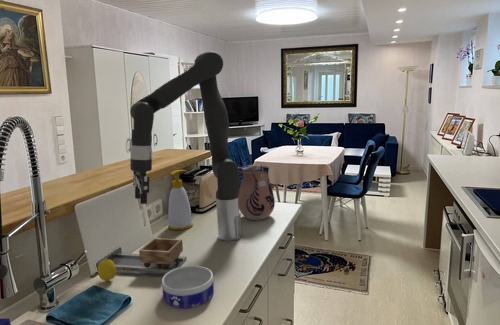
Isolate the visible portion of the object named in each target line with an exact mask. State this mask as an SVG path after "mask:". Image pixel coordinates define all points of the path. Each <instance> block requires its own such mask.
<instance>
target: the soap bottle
mask: <svg viewBox="0 0 500 325" xmlns="http://www.w3.org/2000/svg"><path fill="white" fill-rule="evenodd" d="M183 172H186V173H190V171H189V170H186V169H177V170H172V171H171V172H170V175H172V176H174V180H172V181H171V182H172V187H171V190H170V192H169V197H168V198H169V199H168V208H167V209H168V211H167V212H168V226H167V227H168V228H169V229H170V230H172V231H173V230H174V231H181V230H187V229H190V228H191V227H193V225H194V223H193V218H192V216H193V215H192V211H191V204H190V201H189V197H188V194H187V190H186V189H185V188H184V186H183V181H182V180H183V179H180V173H183Z"/></svg>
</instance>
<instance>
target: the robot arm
mask: <svg viewBox="0 0 500 325" xmlns="http://www.w3.org/2000/svg"><path fill="white" fill-rule="evenodd" d="M193 64H194V65H193V66H192V67H190V68H189V69H187V70H186V71H184V72H183V73H181V74H179V75H177V76H175V77H174V78H172V79H170V80H169V81H166V83H163V84H162V85H161V86H159V87H158V88H156V89H155V90H154V91H152V93H150V94H148V95H146V96H145V97H143V98H141V99H139V100H138V101H136V102H135V103H134V104H132V106H131V107H130V109H129V110H130V111H129V114H130V116H131V118H132V119H133V129H132V131H131V135H130V136H131V138H130V139H131V140H130V141H131V142H130V143H131V146H130V162H129V163H130V164H129V165H130V167H129V168H130V171H132V173H133V176H132V177H133V182H132V183H133V184H132V185H133V187H134V198H135V199H136V200H138V199H139V202H140V204H141V205H147V203H148V194H149V193H150V176H149V175H148V174H147V172H151V171H152V169H153V149H152V144H153V143H152V141H153V140H152V139H153V138H152V133H153V127H154V126H153V124H154V119H155V118H154V117H155V116H154V115H155V113H157V112H159V111H160V110H163V109H165V108H167V107H169V105H171V104H173V103H174V102H175V101H177V100H178V99H179V98H181V97H183V95H185V94H186V93H187V92H188V91H190V90H192V89H194V87H196V86H197V85H198V86H199V91H200V95H201V96H200V97H201V102H202V103H201V104H202V108H203V115H204V116H203V117H204V121H205V123H204V124H205V127H206V133H207V137H208V141H209V142H208V143H209V145H210V146H209V147H210V152H211V153H210V154H211V167H212V173H213V175H214V177H215V178H216V180H217V190H216V192H215V201H216V203H215V204H216V218H217V233H218V234H217V235H218V239H219V240H221V241H227V242H228V241H235V240H239V239H240V237H241V236H242V234H243V233H242V217H241V215H242V213H241V212H240V210H239V199H238V192H239V188H240V172H239V168H238V167H239V166H238V164H237V163H236V162H235V161H234V160H232V159H231V155H230V151H229V145H228V144H229V132H230V122H229V121H230V120H229V116H228V110H227V107H226V103H225V102H224V98H222V96H221V93H220V90H219V87H218V81H217V75H219V74H220V73H221V72H222V69H223V68H224V61H223V57H222V56H221V55H220V54H219V53H218V52H216V51H206V52H202V53H200V54H199V55H198V56H196V57H195V60H194V63H193Z"/></svg>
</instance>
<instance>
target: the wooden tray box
mask: <svg viewBox="0 0 500 325" xmlns="http://www.w3.org/2000/svg"><path fill="white" fill-rule="evenodd" d="M183 251H184V246H183V239H181V238H161V237H160V238H158V237H154V238H152V239H151V240H150V241H149V242H147V244H145V245H144V246H143V247H141V248H140V249H139V250H138V252H139V253H138V254H139V255H140V262H141V263H144V266H145V267H147V268H148V267H149V266H150V265H151V263H158V264H163V267H164V268H165V269H167V268H168V267H169V266H170V264H171V263H172V262H173V261H174V260H175V259H176V258H177V257H178V256H180V255H181V254H182V253H183Z"/></svg>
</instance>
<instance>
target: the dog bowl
mask: <svg viewBox="0 0 500 325" xmlns="http://www.w3.org/2000/svg"><path fill="white" fill-rule="evenodd" d="M161 278H162V279H161V288H162V290H161V291H162V296H163V301H164V303H165V304H166V306H169V307H171V308H174V309H179V310H180V309H181V310H182V309H183V310H185V309H192V308H197V307H199V306H202V305H204V304H207V303H208V302H209V301H210V300H211V299H212V298H213V296H214V293H215V290H214V287H215V285H214V274H213V272H212V270H211V269H210V268H207V267H205V266H202V265H201V266H200V265H185V266H181V267H179V268H176V269H173V270H171V271H169V272H168V273H166V274H165V275H164V277H161Z"/></svg>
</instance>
